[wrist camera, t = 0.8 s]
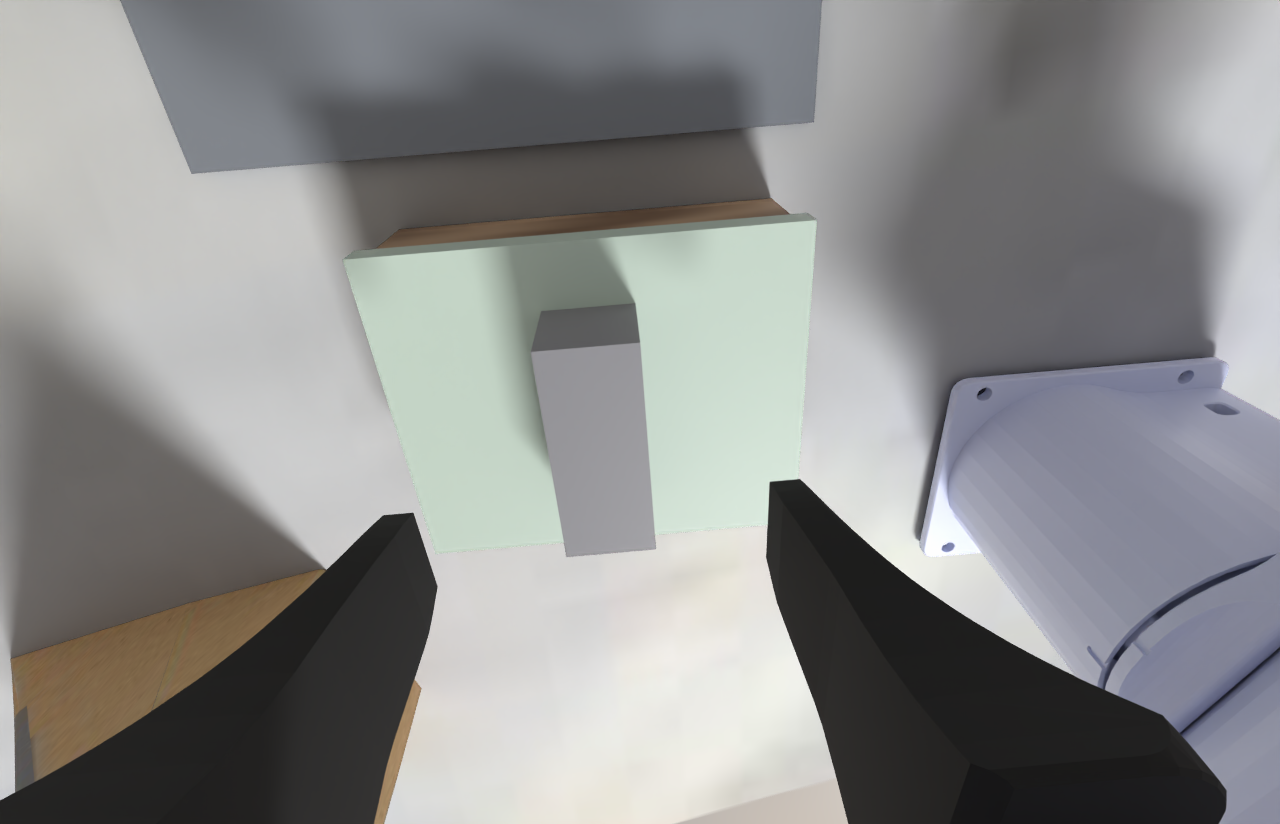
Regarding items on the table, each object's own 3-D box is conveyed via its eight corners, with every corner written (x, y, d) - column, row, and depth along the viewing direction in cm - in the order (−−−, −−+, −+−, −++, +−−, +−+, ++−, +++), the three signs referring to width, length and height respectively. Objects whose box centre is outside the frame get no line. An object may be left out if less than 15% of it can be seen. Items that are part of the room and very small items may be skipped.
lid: (801, 208, 16) (852, 248, 13) (784, 497, 21) (819, 580, 17) (361, 245, 16) (296, 294, 13) (444, 526, 21) (414, 616, 17)
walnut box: (771, 198, 18) (799, 221, 16) (762, 451, 23) (782, 502, 20) (399, 229, 18) (364, 257, 15) (464, 477, 23) (446, 531, 20)
